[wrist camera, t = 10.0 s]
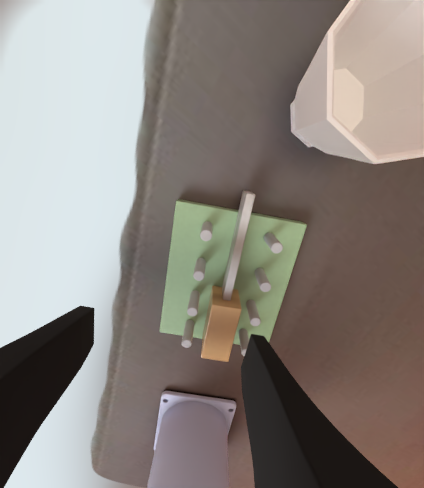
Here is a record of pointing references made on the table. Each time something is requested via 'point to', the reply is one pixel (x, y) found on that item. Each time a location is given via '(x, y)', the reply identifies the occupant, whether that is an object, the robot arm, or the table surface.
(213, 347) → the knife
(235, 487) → the table surface
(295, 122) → the cup
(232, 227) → the rack
